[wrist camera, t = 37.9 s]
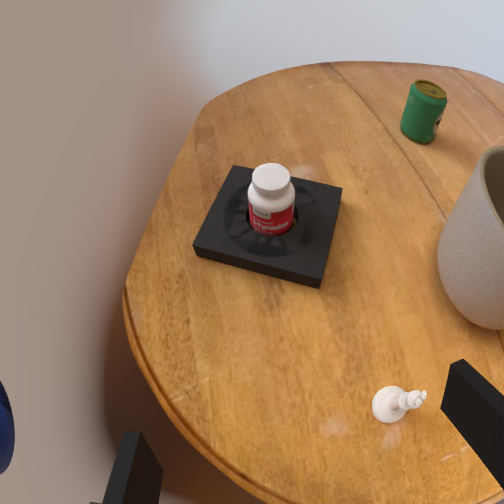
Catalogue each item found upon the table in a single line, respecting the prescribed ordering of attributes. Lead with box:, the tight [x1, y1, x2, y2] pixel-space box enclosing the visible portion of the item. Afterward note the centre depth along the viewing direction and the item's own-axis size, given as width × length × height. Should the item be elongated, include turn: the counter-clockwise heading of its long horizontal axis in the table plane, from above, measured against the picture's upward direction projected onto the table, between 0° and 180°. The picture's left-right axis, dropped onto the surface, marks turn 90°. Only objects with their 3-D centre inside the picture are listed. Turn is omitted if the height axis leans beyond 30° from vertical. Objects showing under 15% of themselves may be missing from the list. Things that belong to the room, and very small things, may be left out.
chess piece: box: [372, 386, 427, 423], centre depth 29 cm, size 5×5×10 cm
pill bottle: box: [248, 163, 295, 236], centre depth 43 cm, size 6×6×11 cm
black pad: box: [192, 165, 343, 289], centre depth 46 cm, size 18×16×3 cm
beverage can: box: [401, 80, 447, 144], centre depth 53 cm, size 8×8×12 cm
